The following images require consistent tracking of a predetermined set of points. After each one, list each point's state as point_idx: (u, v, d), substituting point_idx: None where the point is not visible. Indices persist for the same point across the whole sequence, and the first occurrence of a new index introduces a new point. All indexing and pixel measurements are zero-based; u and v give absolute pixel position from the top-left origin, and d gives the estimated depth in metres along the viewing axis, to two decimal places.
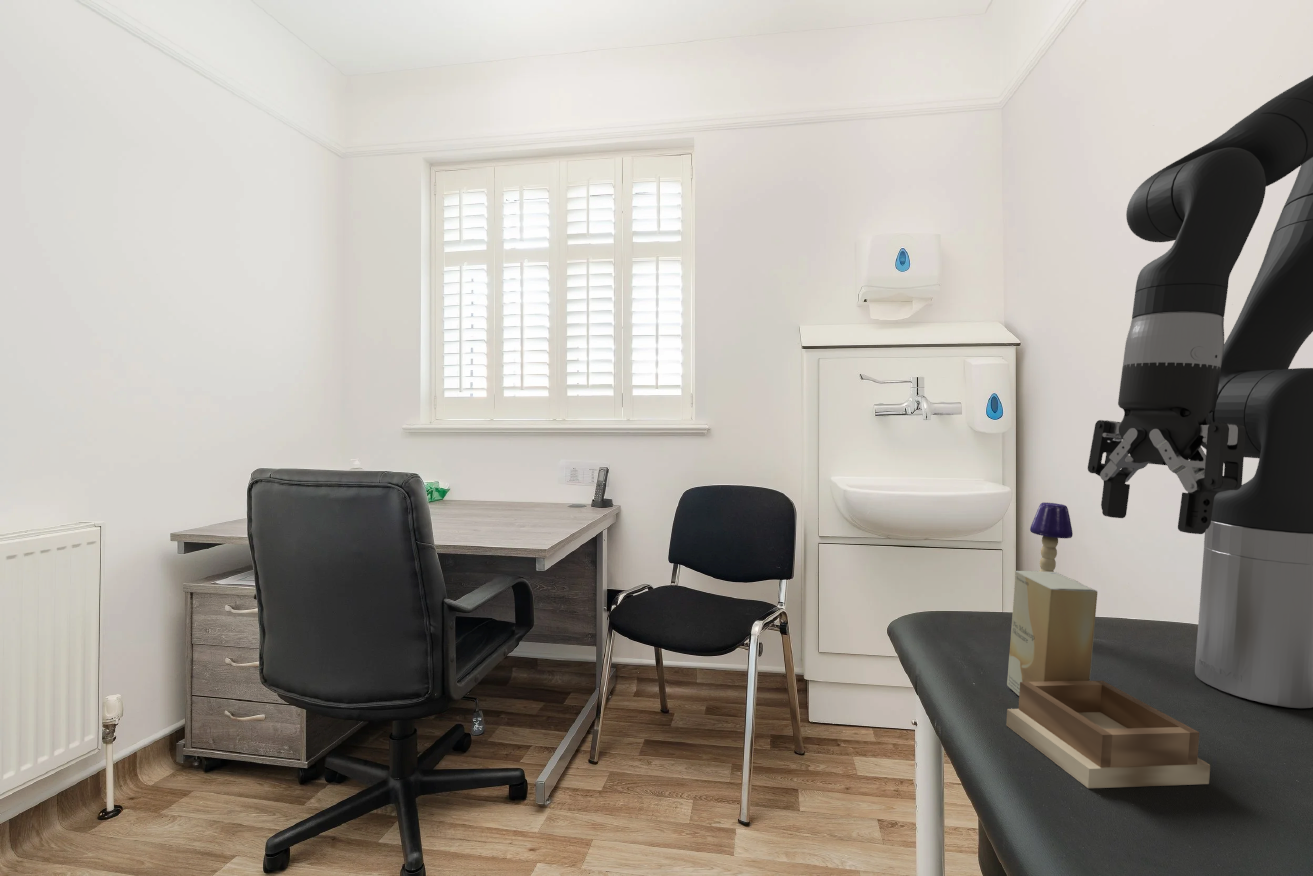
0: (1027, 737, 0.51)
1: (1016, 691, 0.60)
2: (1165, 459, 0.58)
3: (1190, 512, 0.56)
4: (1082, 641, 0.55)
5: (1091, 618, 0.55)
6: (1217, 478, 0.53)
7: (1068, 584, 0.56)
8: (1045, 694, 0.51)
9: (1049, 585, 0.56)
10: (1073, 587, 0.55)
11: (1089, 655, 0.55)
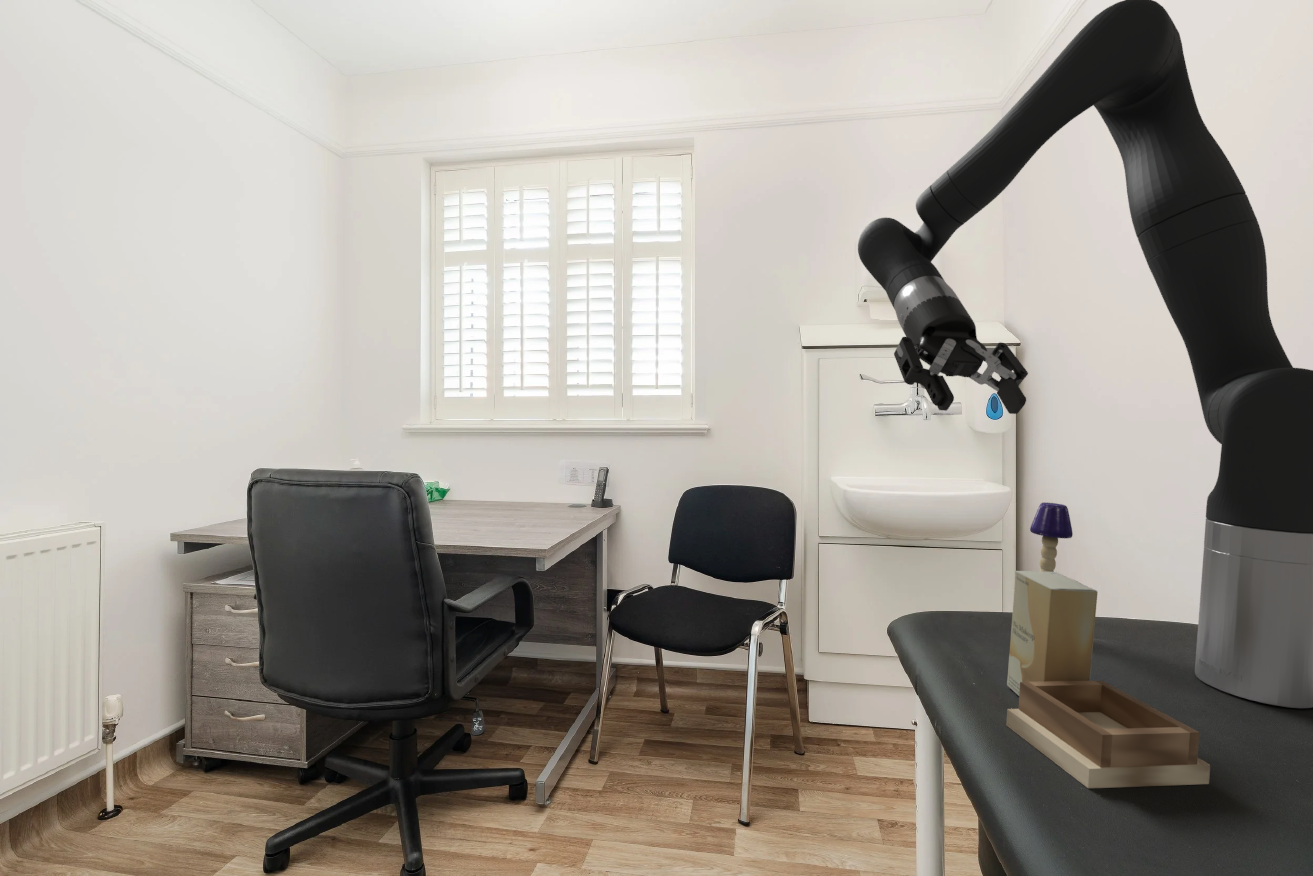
0: (1027, 737, 0.51)
1: (1016, 691, 0.60)
2: None
3: None
4: (1082, 641, 0.55)
5: (1091, 618, 0.55)
6: (904, 379, 0.71)
7: (1068, 584, 0.56)
8: (1045, 694, 0.51)
9: (1049, 585, 0.56)
10: (1073, 587, 0.55)
11: (1089, 655, 0.55)
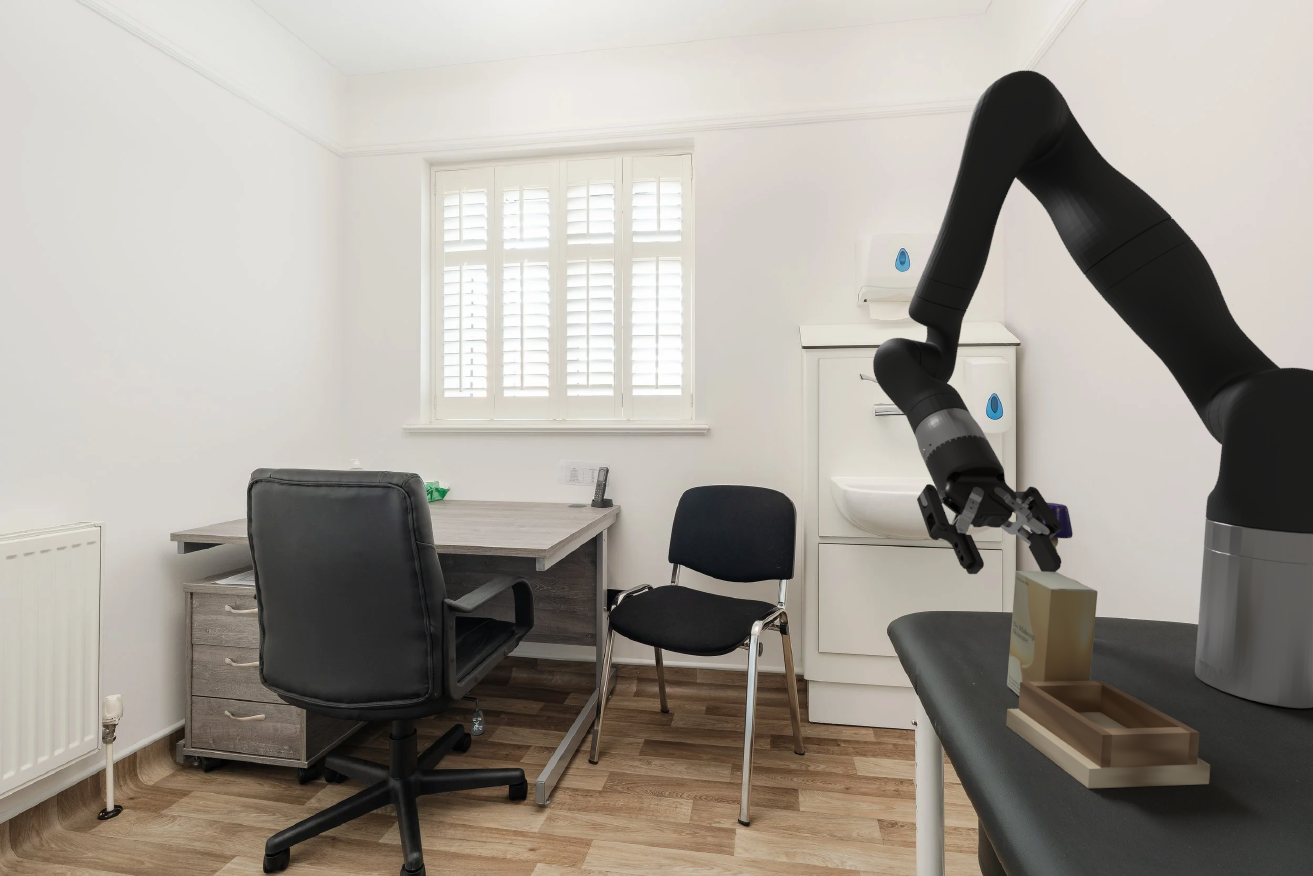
0: (1027, 737, 0.51)
1: (1016, 691, 0.60)
2: None
3: None
4: (1082, 641, 0.55)
5: (1091, 618, 0.55)
6: (929, 532, 0.67)
7: (1068, 584, 0.56)
8: (1045, 694, 0.51)
9: (1049, 585, 0.56)
10: (1073, 587, 0.55)
11: (1089, 655, 0.55)
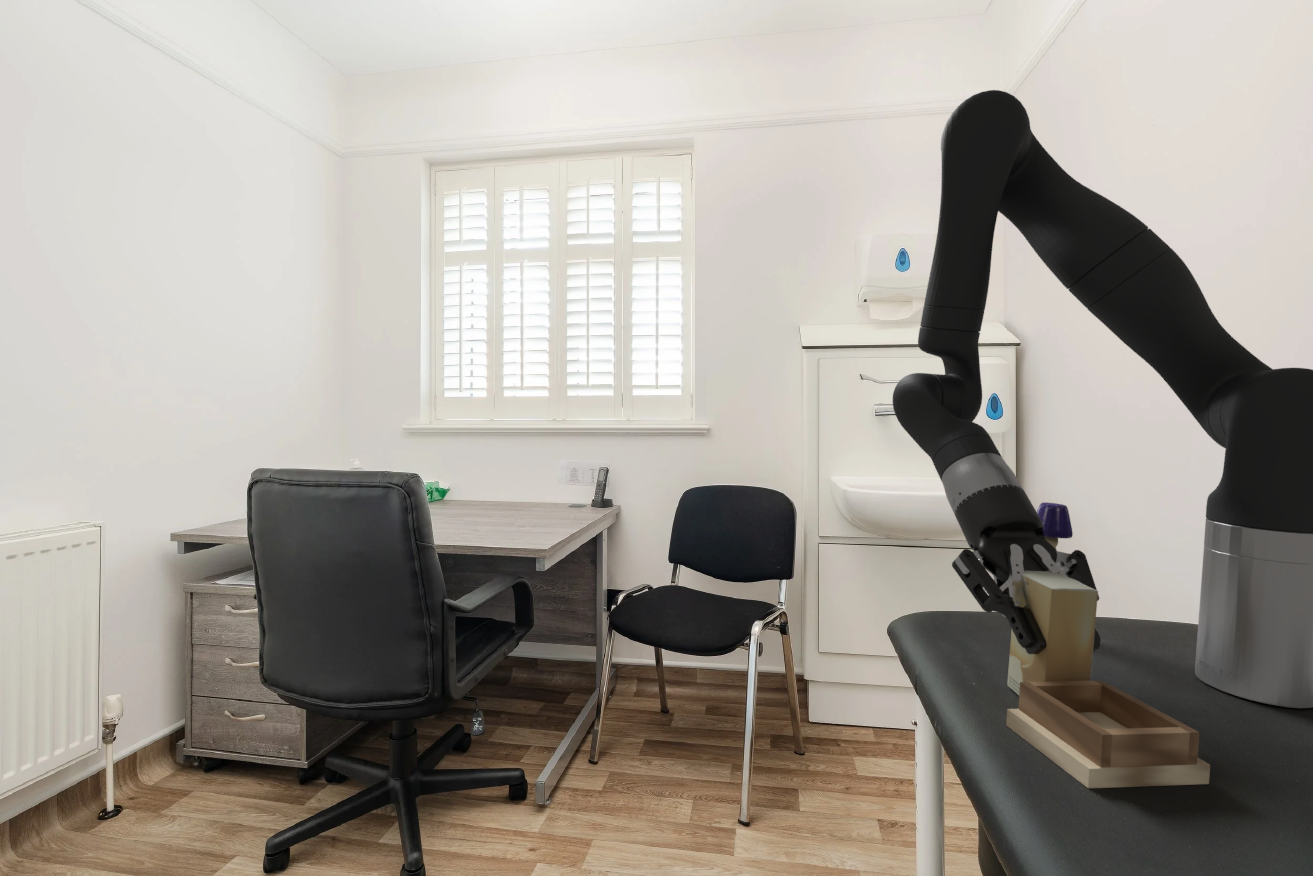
0: (1027, 737, 0.51)
1: (1016, 691, 0.60)
2: None
3: None
4: (1083, 641, 0.55)
5: (1092, 618, 0.55)
6: None
7: (1068, 584, 0.56)
8: (1045, 694, 0.51)
9: (1050, 584, 0.56)
10: (1074, 587, 0.55)
11: (1090, 654, 0.55)
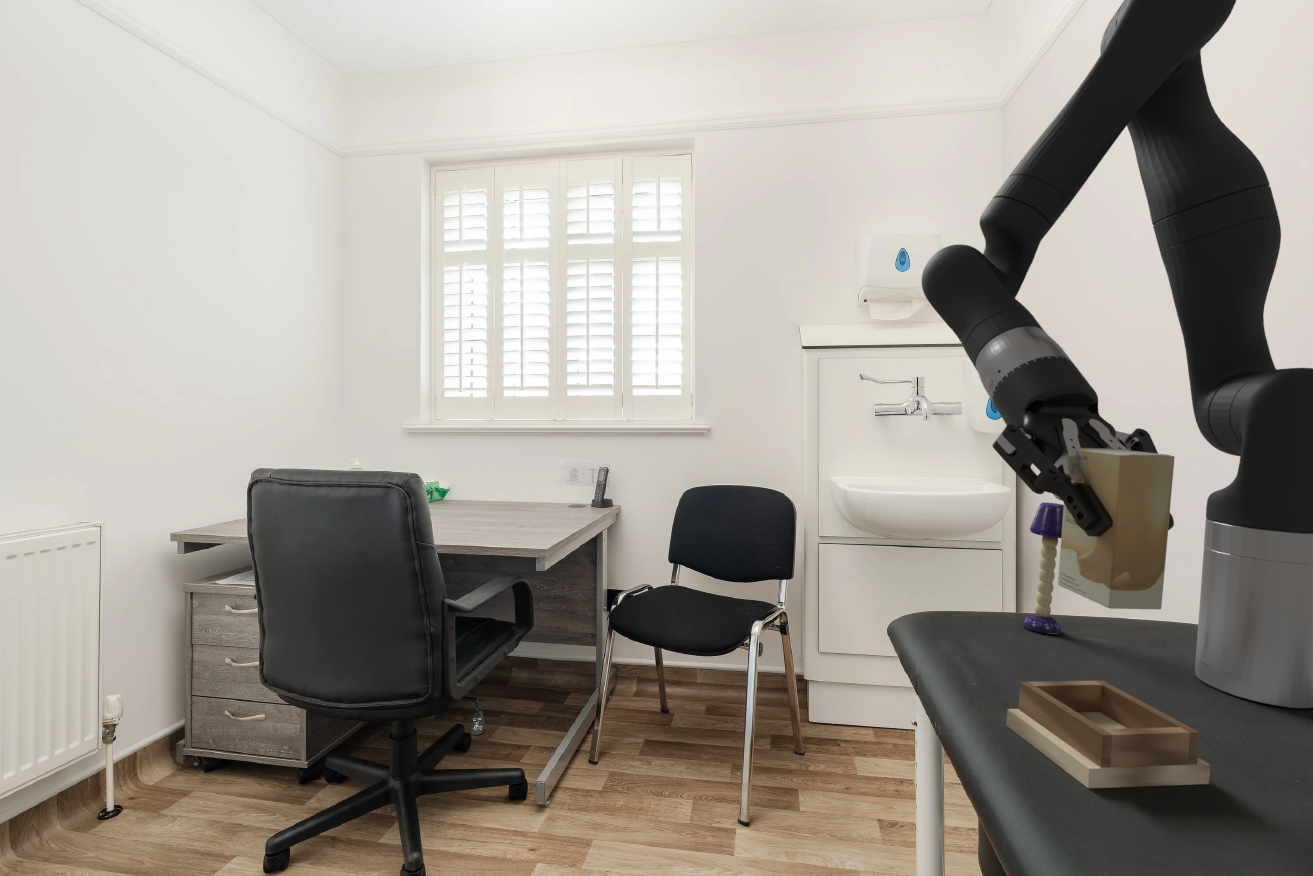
0: (1027, 737, 0.51)
1: (1071, 588, 0.51)
2: None
3: None
4: (1157, 517, 0.46)
5: (1167, 489, 0.46)
6: None
7: (1137, 452, 0.47)
8: (1045, 694, 0.51)
9: (1116, 453, 0.47)
10: (1145, 454, 0.46)
11: (1165, 533, 0.46)
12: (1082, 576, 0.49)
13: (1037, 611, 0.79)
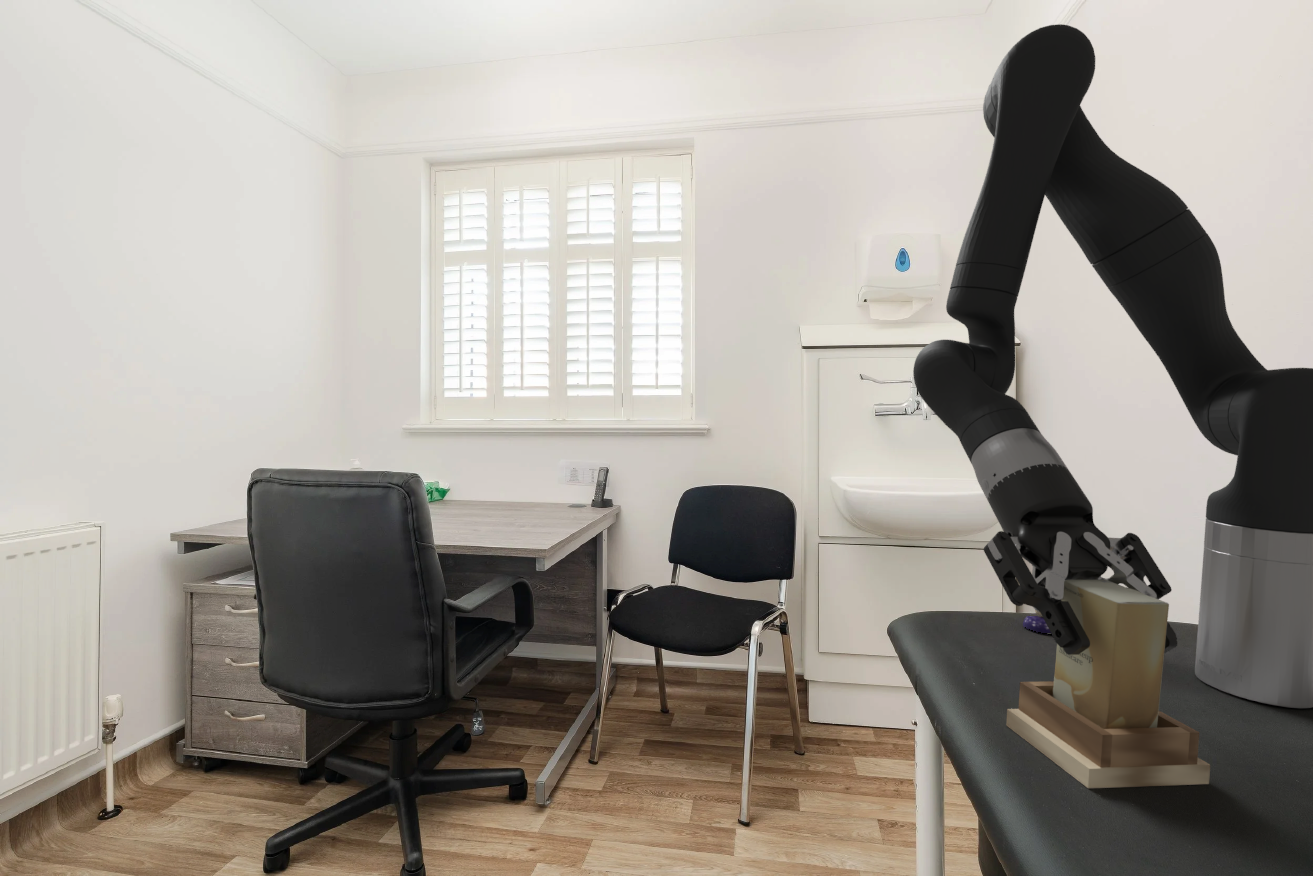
0: (1027, 737, 0.51)
1: None
2: None
3: None
4: (1152, 663, 0.47)
5: (1162, 635, 0.46)
6: None
7: (1132, 596, 0.48)
8: (1045, 694, 0.51)
9: (1112, 597, 0.47)
10: (1140, 599, 0.47)
11: (1159, 679, 0.47)
12: (1077, 712, 0.50)
13: (1037, 611, 0.79)
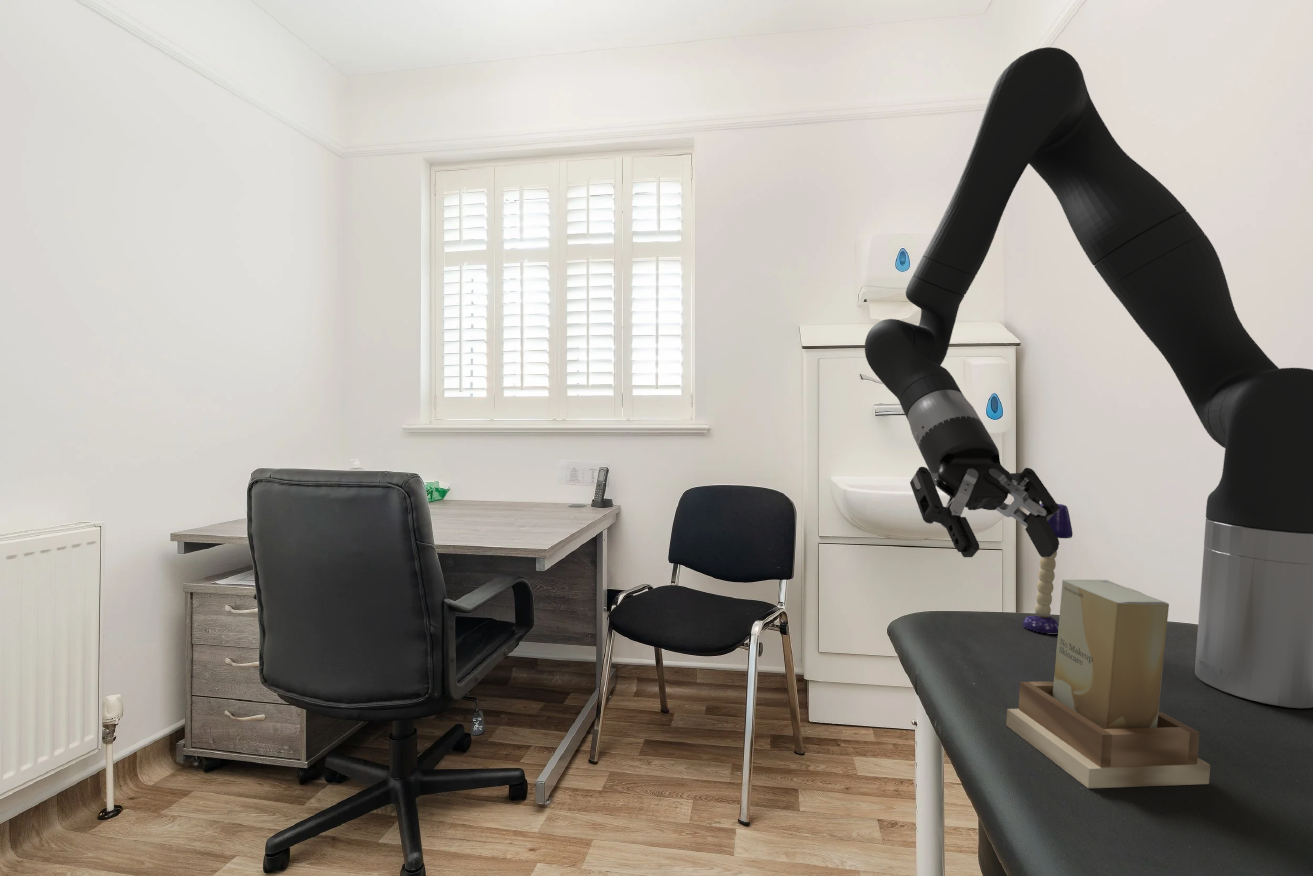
0: (1027, 737, 0.51)
1: None
2: None
3: None
4: (1152, 663, 0.47)
5: (1162, 635, 0.46)
6: (922, 516, 0.65)
7: (1132, 596, 0.48)
8: (1045, 694, 0.51)
9: (1112, 597, 0.47)
10: (1140, 599, 0.47)
11: (1159, 679, 0.47)
12: (1077, 712, 0.50)
13: (1037, 611, 0.79)
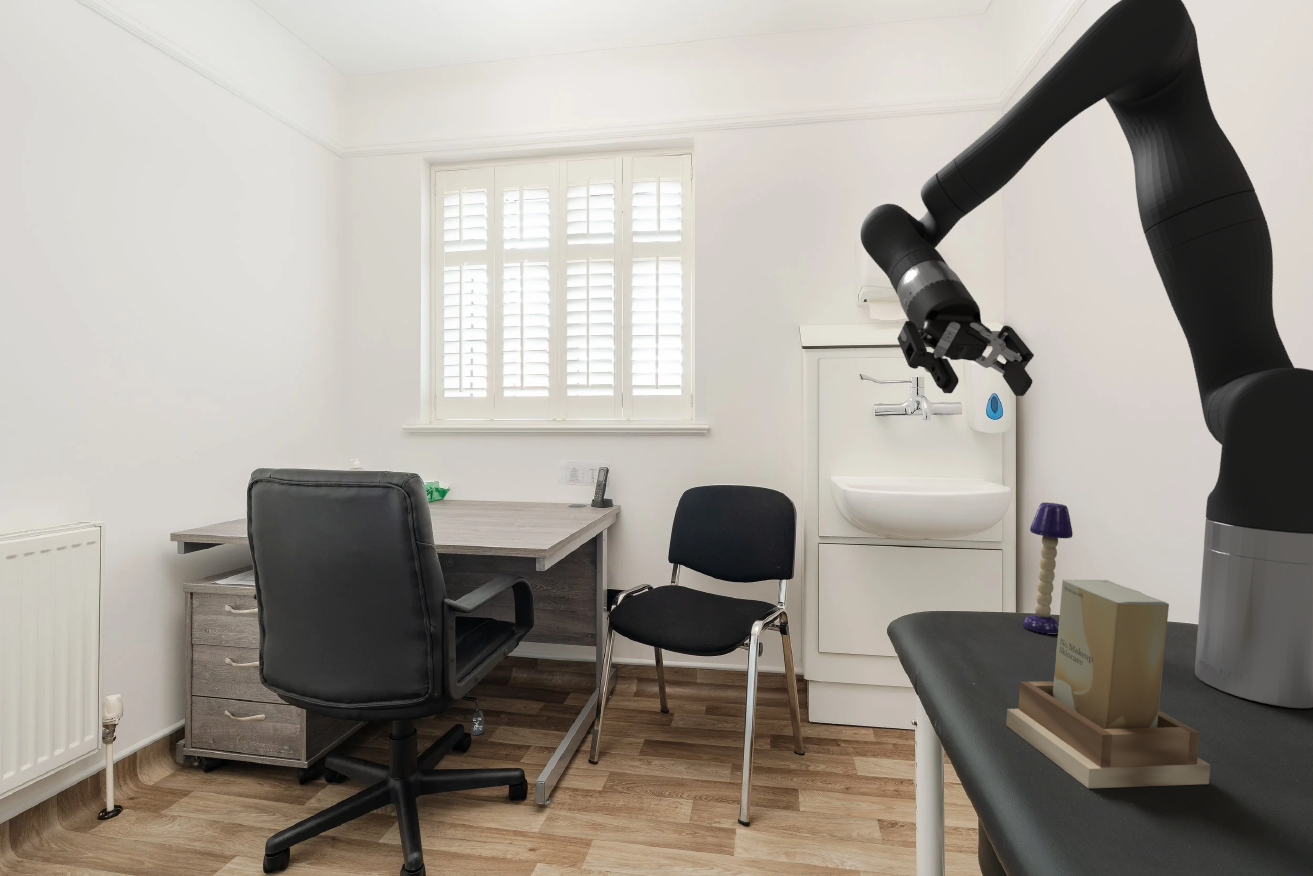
0: (1027, 737, 0.51)
1: None
2: None
3: None
4: (1152, 663, 0.47)
5: (1162, 635, 0.46)
6: (908, 363, 0.70)
7: (1132, 596, 0.48)
8: (1045, 694, 0.51)
9: (1112, 597, 0.47)
10: (1140, 599, 0.47)
11: (1159, 679, 0.47)
12: (1077, 712, 0.50)
13: (1037, 611, 0.79)
